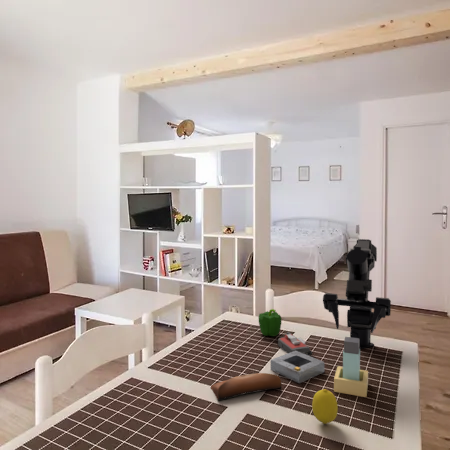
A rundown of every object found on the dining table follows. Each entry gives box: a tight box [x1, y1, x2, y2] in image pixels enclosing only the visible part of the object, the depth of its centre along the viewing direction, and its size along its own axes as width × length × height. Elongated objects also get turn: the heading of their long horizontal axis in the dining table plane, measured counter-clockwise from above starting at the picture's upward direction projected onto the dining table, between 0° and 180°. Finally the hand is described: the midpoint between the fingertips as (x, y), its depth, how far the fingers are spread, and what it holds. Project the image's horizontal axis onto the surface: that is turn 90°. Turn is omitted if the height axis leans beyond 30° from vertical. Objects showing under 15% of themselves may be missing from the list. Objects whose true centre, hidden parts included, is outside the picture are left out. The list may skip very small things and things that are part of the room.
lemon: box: [311, 388, 339, 425], centre depth 86 cm, size 6×6×8 cm
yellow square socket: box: [333, 365, 369, 398], centre depth 103 cm, size 8×8×4 cm
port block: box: [270, 351, 325, 384], centre depth 113 cm, size 11×11×3 cm
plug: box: [342, 336, 361, 381], centre depth 103 cm, size 4×4×13 cm
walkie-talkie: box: [277, 331, 313, 356], centre depth 132 cm, size 9×4×20 cm
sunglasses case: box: [210, 372, 283, 401], centre depth 103 cm, size 18×7×7 cm
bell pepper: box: [258, 308, 282, 337], centre depth 144 cm, size 8×8×10 cm
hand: (354, 330), depth 109 cm, fingers open, 9 cm apart
